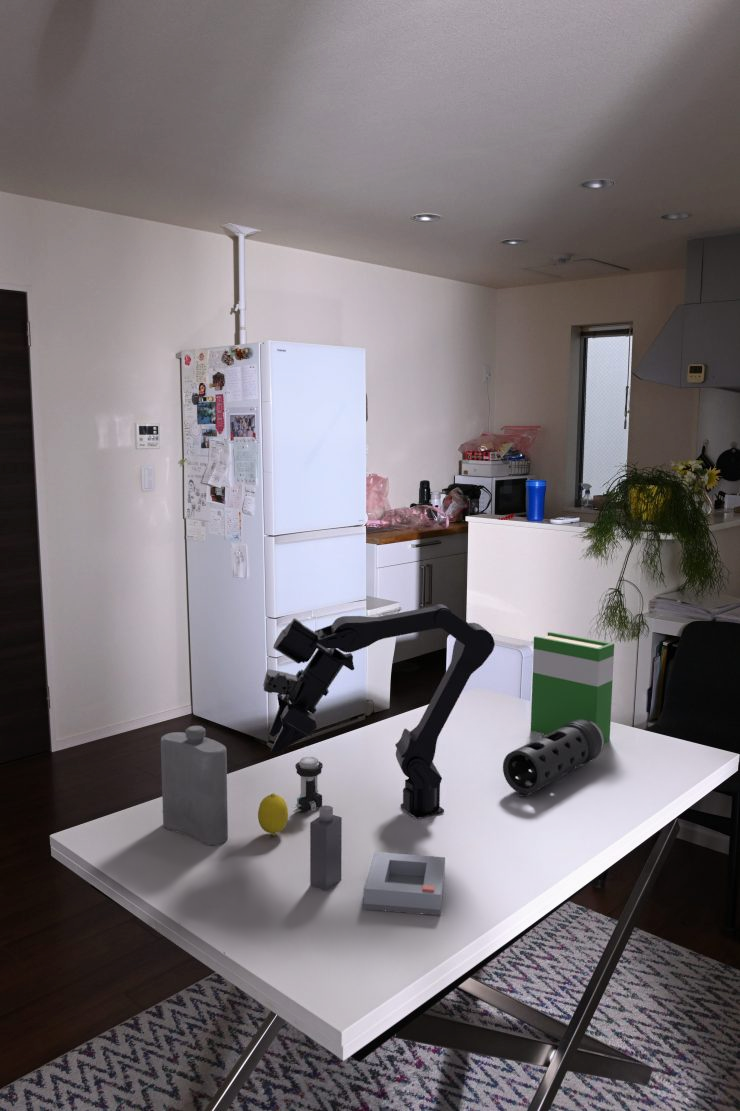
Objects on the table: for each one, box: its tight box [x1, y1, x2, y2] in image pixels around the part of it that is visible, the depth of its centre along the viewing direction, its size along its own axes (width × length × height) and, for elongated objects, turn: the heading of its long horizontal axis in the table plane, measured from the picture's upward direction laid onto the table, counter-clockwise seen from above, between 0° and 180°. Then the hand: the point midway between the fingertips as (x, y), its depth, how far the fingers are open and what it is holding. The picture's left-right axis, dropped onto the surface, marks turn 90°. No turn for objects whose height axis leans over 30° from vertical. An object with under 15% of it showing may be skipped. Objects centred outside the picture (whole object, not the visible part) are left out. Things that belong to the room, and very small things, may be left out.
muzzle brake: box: [502, 719, 604, 798], centre depth 189 cm, size 10×28×10 cm, turn 138°
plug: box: [309, 804, 343, 892], centre depth 144 cm, size 4×3×13 cm
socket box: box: [363, 851, 446, 916], centre depth 142 cm, size 12×12×4 cm
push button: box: [291, 756, 324, 814], centre depth 172 cm, size 7×5×10 cm
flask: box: [160, 725, 229, 847], centre depth 162 cm, size 15×6×20 cm, turn 54°
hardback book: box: [530, 631, 615, 744], centre depth 214 cm, size 18×7×24 cm, turn 48°
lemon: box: [257, 793, 289, 836], centre depth 162 cm, size 6×6×8 cm
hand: (272, 743), depth 167 cm, fingers open, 9 cm apart
